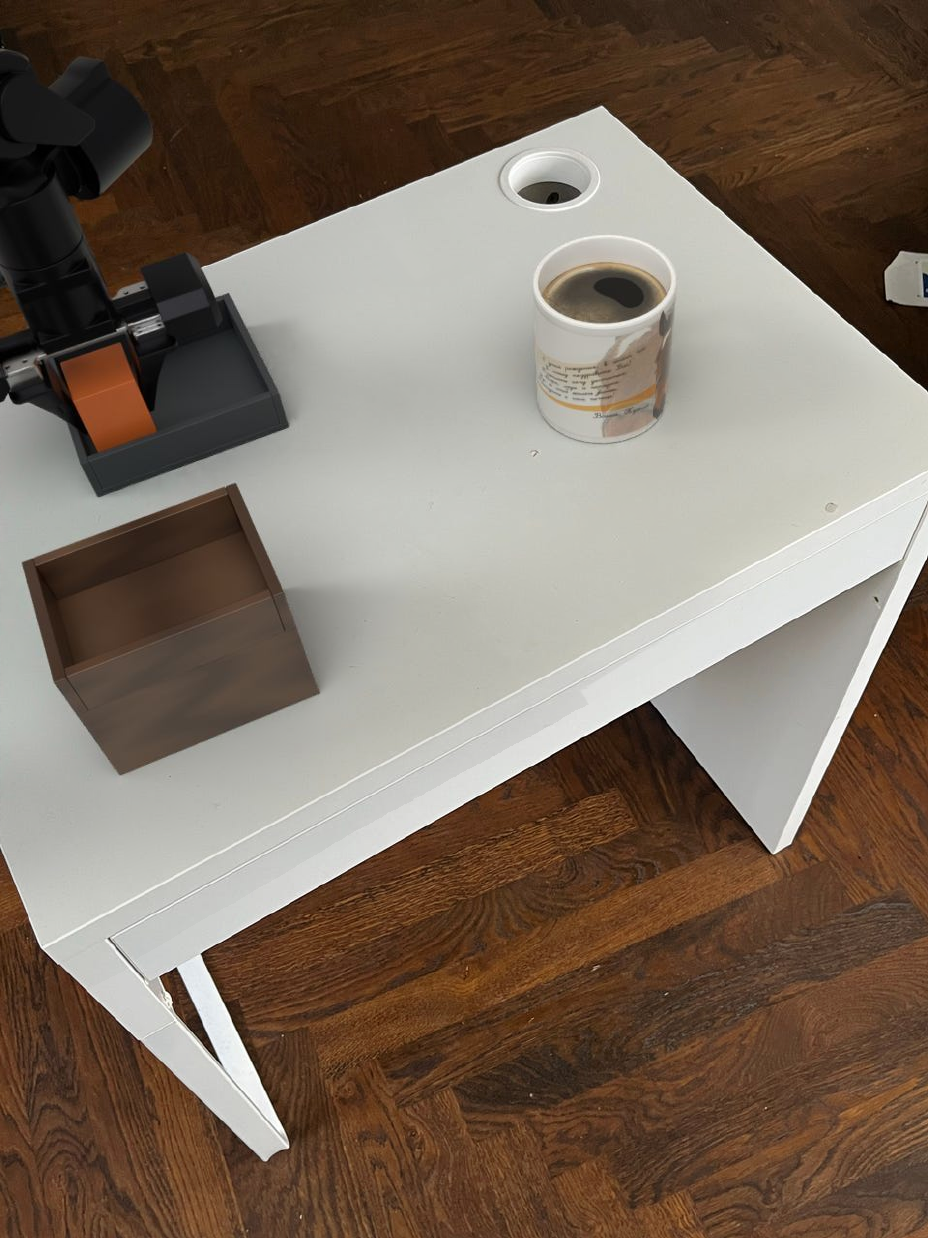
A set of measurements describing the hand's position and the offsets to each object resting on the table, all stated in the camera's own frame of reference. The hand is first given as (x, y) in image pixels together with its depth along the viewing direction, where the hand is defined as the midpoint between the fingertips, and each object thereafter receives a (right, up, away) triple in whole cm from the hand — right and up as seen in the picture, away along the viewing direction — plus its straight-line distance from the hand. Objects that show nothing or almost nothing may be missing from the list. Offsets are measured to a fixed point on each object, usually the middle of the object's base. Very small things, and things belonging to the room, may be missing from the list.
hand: (119, 418), depth 85 cm
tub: (+3, +2, +5) cm, 6 cm away
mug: (+37, +3, +2) cm, 37 cm away
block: (0, 0, +1) cm, 1 cm away
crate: (+8, -19, -10) cm, 23 cm away
